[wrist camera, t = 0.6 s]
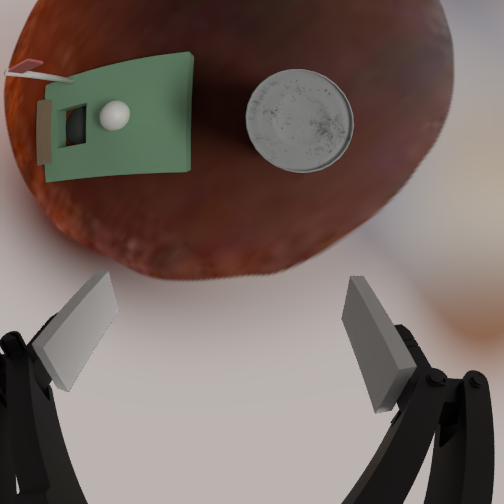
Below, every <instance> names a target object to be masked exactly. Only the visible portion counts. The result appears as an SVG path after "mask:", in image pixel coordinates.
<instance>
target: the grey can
mask: <svg viewBox="0 0 504 504" xmlns="http://www.w3.org/2000/svg"><path fill="white" fill-rule="evenodd" d="M245 117H246V128H247V131H248V135H249V138H250V140H251V142H252V143H253V145H254V147H255V149H256V150H257V151H258V152H259V153H260V154H261V155H262V156H263V158H264V159H266V160H267V161H269V162H270V163H271V164H273V165H274V166H277V167H279V168H281V169H284V170H286V171H292V172H297V173H307V172H314V171H318V170H322V169H324V168H326V167H328V166H330V165H332V164H333V163H334V162H335V161H336V160H338V159H339V158H340V157H341V156H342V154H343V153H344V152H345V150H346V149H347V148H348V145H349V143H350V141H351V138H352V133H353V128H354V123H353V113H352V110H351V106H350V103H349V102H348V100H347V98H346V96H345V94H344V93H343V92H342V91H341V89H340V88H339V87H338V86H337V85H336V84H335V83H334V82H332V81H331V80H330V79H328V78H327V77H325V76H323V75H321V74H319V73H316V72H313V71H309V70H304V69H290V70H285V71H281V72H278V73H276V74H273V75H271V76H269V77H268V78H266V79H265V80H264V81H263V82H261V83H260V84H259V85H258V86H257V88H256V89H255V90H254V92H253V93H252V95H251V97H250V99H249V102H248V104H247V110H246V116H245Z"/></svg>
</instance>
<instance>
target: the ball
mask: <svg viewBox="0 0 504 504" xmlns="http://www.w3.org/2000/svg"><path fill="white" fill-rule="evenodd" d="M129 118H130V110H129V107H128V106H127V105H126V104H125V103H124V102H122V101H118V100H115V101H111V102H109V103H107V104H106V105H105V106H104V107H103V108H102V110H101V112H100V123H101V125H102V126H103V127H104V128H105V129H107V130H110V131H116V130H119V129H121V128H123V127H124V126H125V125H126V124H127V122H128V120H129Z"/></svg>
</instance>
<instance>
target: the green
mask: <svg viewBox="0 0 504 504" xmlns="http://www.w3.org/2000/svg"><path fill="white" fill-rule="evenodd" d="M41 64H43V61H39V60H34V59H29V58H28V59H26V60H24V61H22V62H21V63H19V64H17V65H15V66H14V67H12V68H10V69H6V70H5V72H4V75H6V76H18V77H28V78H36V79H44V80H50V81H56V82H53V83H51V84H48V85H46V90H45V100H40V101H38V102H37V123H36V145H37V166H39V165H44V164H45V177H46V182H53V181H61V180H70V179H78V178H88V177H99V176H111V175H125V174H142V173H167V172H187V171H189V170H191V105H192V82H193V65H194V56H193V55H192V54H191V53H190V52H182V53H174V54H166V55H159V56H152V57H146V58H141V59H135V60H130V61H125V62H121V63H116V64H112V65H108V66H104V67H100V68H97V69H93V70H90V71H86V72H83V73H80V74H76V75H73V76H70V77H67V78H66V77H61V76H56V75H50V74H44V73H38V72H31V71H29V70H31V69H33V68H35V67H37V66H39V65H41ZM115 100H118V101H122V102H124V103H125V104H126V105H127V106H128V107H129V110H130V118H129V120H128V122H127V124H126V125H125V126H124V127H123V128H121V129H119V130H116V131H110V130H107V129H105V128H104V127H103V126H102V125H101V123H100V112H101V110H102V108H103V107H104V106H105V105H106V104H107V103H109V102H111V101H115ZM84 106H87V108H80V107H84ZM76 108H78V109H76ZM72 109H76V110H74V111H73V112H72V113H71V114H70V116H69V118H68V120H67V123H66V111H68V110H72ZM66 135H67V138H68V139H69V141H70V142H72V143H73V144H78V145H73V146H68V147H66ZM84 142H86V143H84ZM82 143H84V144H82Z"/></svg>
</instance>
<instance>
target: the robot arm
mask: <svg viewBox="0 0 504 504" xmlns="http://www.w3.org/2000/svg"><path fill="white" fill-rule="evenodd" d="M118 312H119V309H118V306H117V302H116V299H115V295H114V291H113V288H112V283H111V280H110V275H109V272H108V271H97V272H96V273H95V274H94V275H93V276H92V277H91V278H90V279H89V280H88V281H87V282H86V283H85V284H84V285H83V286H82V288H81V289H80V290H79V291H78V292H77V293H76V294H75V295H74V296H73V297H72V298H71V299H70V300H69V301H68V303H67V304H66V305H65V306H64V307H63V308H62V309H61V310H60V311H59V313H56V314H55V315H54V316H52V317H51V318H50V319H49V320H48V321H47V322H46V323H45V325H43V326H42V328H41V330H39V331H38V332H37V334H36V335H35V336H34V337H33V338H32V340H31V341H30V342H29V343H28V344H27V346H26V344H25V342H24V340H23V338H22V336H21V334H20V333H19V332H17V331H12V332H9V333H7V334H5V335H4V336H3V337H2V338H1V340H0V347H1V348H2V350H3V352H4V354H1V353H0V504H88V503H87V501H86V499H85V497H84V494H83V492H82V490H81V487H80V485H79V483H78V480H77V477H76V475H75V472H74V469H73V467H72V464H71V461H70V458H69V455H68V452H67V449H66V446H65V442H64V439H63V436H62V432H61V428H60V424H59V420H58V416H57V411H56V407H55V402H54V397H53V393H52V388H51V386H50V385H49V384H50V382H51V381H52V380H53V382H54V384H55V385H56V387H57V388H59V389H61V390H64V391H67V392H69V391H70V390H71V388H72V386H73V384H74V383H75V381H76V379H77V377H78V376H79V374H80V372H81V371H82V369H83V367H84V366H85V364H86V362H87V361H88V359H89V357H90V356H91V354H92V353H93V351H94V349H95V348H96V346H97V345H98V343H99V341H100V340H101V338H102V337H103V335H104V333H105V332H106V330H107V329H108V327H109V326H110V324H111V323H112V321H113V320H114V318H115V317H116V315H117V314H118ZM342 321H343V323H344V326H345V329H346V331H347V334H348V337H349V339H350V342H351V345H352V348H353V350H354V353H355V356H356V358H357V361H358V364H359V367H360V369H361V372H362V375H363V378H364V381H365V384H366V387H367V390H368V393H369V396H370V399H371V402H372V405H373V408H374V412H375V413H381V412H387V411H391V410H392V409H393V407H394V406H395V404H396V402H397V404H398V407H399V411H398V412H397V414H396V415H395V417H394V418H393V420H392V421H391V423H392V424H391V426H390V428H389V430H388V432H387V433H386V435H385V437H384V439H383V441H382V443H381V444H380V446H379V448H378V450H377V451H376V453H375V455H374V457H373V458H372V460H371V461H370V463H369V465H368V466H367V468H366V469H365V471H364V472H363V474H362V475H361V477H360V478H359V480H358V481H357V483H356V484H355V486H354V487H353V489H352V490H351V491H350V493H349V494H348V496H347V497H346V498H345V500H344V501H343V502H342V503H341V504H403V502H404V500H405V498H406V497H407V495H408V493H409V491H410V489H411V487H412V485H413V483H414V481H415V479H416V477H417V475H418V472H419V470H420V468H421V466H422V463H423V461H424V459H425V456H426V454H427V451H428V449H429V446H430V444H431V441H432V438H433V435H434V433H435V439H434V448H433V456H432V464H431V471H430V476H429V482H428V486H427V491H426V497H425V500H424V504H491V502H492V495H493V482H494V428H493V415H492V407H491V399H490V391H489V385H488V381H487V378H486V377H485V376H484V375H483V374H482V373H480V372H478V371H475V370H471V371H468V372H467V373H466V374H465V376H464V377H463V379H451V378H447V376H446V375H445V373H443V371H441V370H439V369H436V368H432V367H431V366H430V364H429V363H428V361H427V359H426V357H425V355H424V354H423V352H422V350H421V348H420V347H419V346H418V343H417V342H416V340H414V337H413V335H412V334H411V332H410V331H409V330H408V329H407V328H406V327H404V326H403V325H402V324H401V325H393V323H392V321H391V319H390V318H389V316H388V314H387V313H386V311H385V310H384V308H383V306H382V305H381V303H380V302H379V300H378V298H377V297H376V295H375V293H374V292H373V290H372V289H371V287H370V286H369V284H368V282H367V281H366V279H365V278H364V276H350V280H349V285H348V290H347V296H346V300H345V305H344V309H343V314H342ZM16 477H17V481H18V485H19V490H20V492H19V494H17V491H16Z"/></svg>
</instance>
